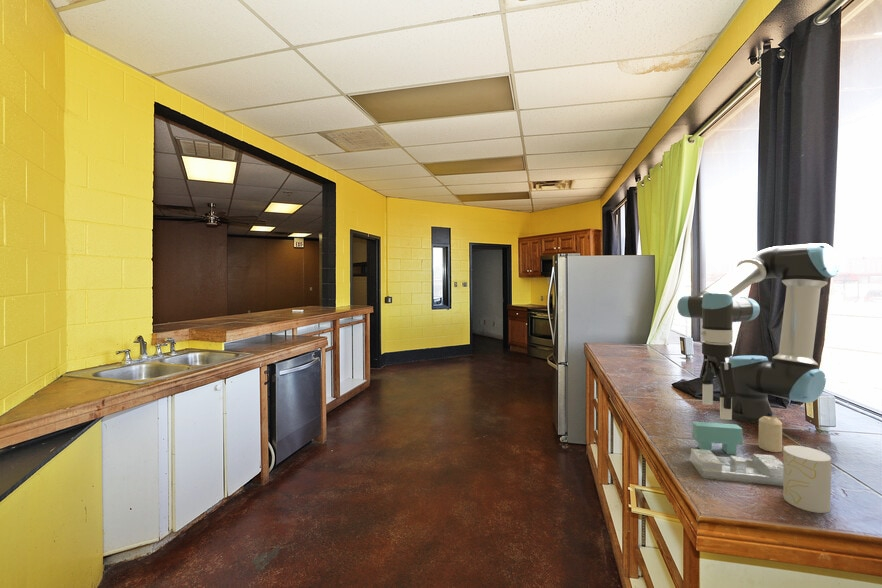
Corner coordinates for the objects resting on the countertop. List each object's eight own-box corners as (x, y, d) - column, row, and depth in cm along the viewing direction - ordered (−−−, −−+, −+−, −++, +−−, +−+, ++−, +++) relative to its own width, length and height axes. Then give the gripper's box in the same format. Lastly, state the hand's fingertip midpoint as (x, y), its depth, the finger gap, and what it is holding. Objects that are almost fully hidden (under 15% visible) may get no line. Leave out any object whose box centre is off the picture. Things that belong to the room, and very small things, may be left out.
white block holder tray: (771, 468, 107) (771, 454, 107) (793, 487, 97) (793, 471, 97) (690, 460, 112) (690, 447, 112) (703, 477, 103) (702, 463, 103)
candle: (776, 445, 120) (776, 414, 120) (785, 453, 115) (785, 420, 115) (755, 443, 122) (755, 412, 122) (763, 451, 117) (763, 419, 116)
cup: (774, 494, 95) (774, 446, 94) (804, 491, 95) (804, 444, 95) (808, 514, 86) (808, 462, 86) (840, 511, 87) (841, 459, 87)
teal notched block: (737, 449, 118) (737, 424, 118) (742, 455, 115) (742, 428, 115) (692, 446, 122) (692, 421, 121) (696, 451, 118) (696, 425, 118)
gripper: (688, 336, 130) (688, 398, 131) (719, 349, 106) (718, 424, 107) (714, 337, 128) (713, 399, 129) (751, 350, 104) (750, 427, 105)
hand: (716, 411), depth 118 cm, fingers open, 13 cm apart
